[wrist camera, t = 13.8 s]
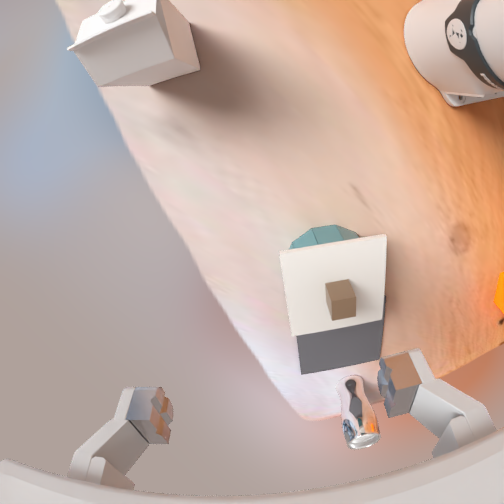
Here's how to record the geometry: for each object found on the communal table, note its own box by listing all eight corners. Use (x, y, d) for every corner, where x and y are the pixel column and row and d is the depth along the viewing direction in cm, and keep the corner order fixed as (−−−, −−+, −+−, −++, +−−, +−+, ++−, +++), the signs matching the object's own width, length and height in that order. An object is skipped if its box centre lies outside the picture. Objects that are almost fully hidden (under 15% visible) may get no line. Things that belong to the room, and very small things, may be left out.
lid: (384, 233, 39) (398, 251, 35) (380, 316, 46) (390, 337, 41) (278, 251, 40) (281, 271, 36) (291, 332, 47) (294, 356, 42)
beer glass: (329, 381, 62) (341, 442, 49) (360, 369, 60) (378, 428, 47) (338, 396, 65) (351, 453, 51) (367, 385, 63) (384, 441, 50)
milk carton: (201, 70, 35) (161, 53, 18) (148, 86, 35) (75, 89, 19) (189, 21, 31) (143, -27, 15) (136, 39, 32) (59, 12, 15)
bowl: (366, 219, 45) (380, 237, 39) (366, 291, 51) (377, 314, 45) (278, 233, 46) (282, 254, 40) (289, 305, 52) (293, 330, 46)
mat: (384, 295, 51) (385, 297, 51) (378, 357, 59) (379, 359, 58) (293, 311, 52) (293, 314, 52) (301, 372, 60) (301, 374, 59)
